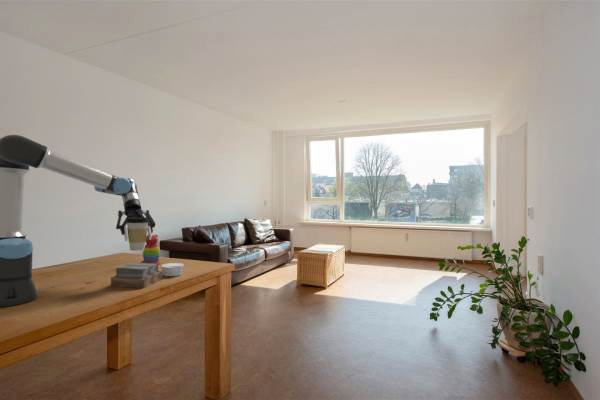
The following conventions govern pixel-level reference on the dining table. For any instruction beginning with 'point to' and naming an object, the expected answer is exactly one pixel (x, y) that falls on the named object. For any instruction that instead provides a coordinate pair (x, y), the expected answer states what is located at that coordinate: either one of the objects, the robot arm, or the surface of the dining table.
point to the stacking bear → (151, 251)
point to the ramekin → (172, 269)
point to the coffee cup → (137, 232)
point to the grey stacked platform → (136, 275)
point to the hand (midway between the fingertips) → (138, 238)
